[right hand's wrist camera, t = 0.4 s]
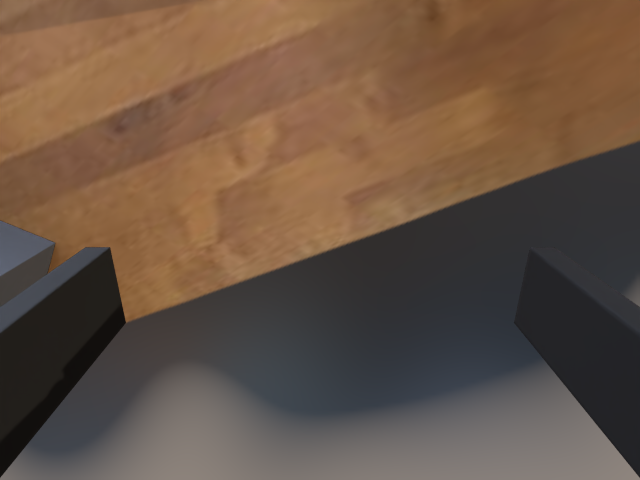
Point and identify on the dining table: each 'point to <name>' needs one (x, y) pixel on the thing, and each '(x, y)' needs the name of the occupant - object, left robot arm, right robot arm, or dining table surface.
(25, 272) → the bar
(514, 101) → the dining table surface
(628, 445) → the right robot arm
